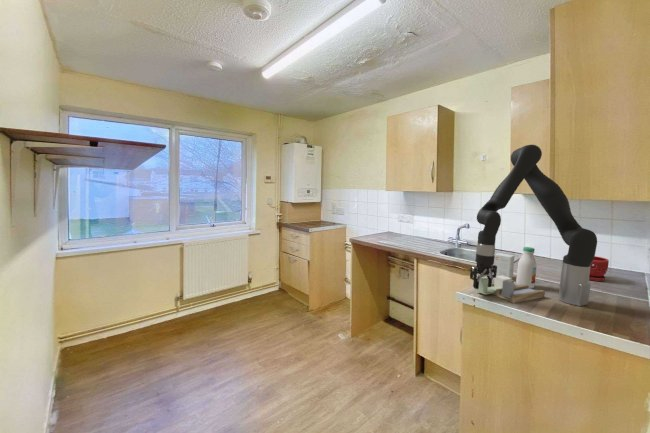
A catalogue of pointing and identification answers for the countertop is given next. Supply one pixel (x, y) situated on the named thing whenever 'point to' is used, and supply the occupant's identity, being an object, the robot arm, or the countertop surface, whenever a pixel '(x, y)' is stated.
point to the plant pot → (598, 269)
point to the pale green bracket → (485, 287)
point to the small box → (504, 264)
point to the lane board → (522, 296)
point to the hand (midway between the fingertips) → (482, 287)
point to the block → (501, 281)
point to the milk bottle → (526, 268)
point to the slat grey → (512, 289)
